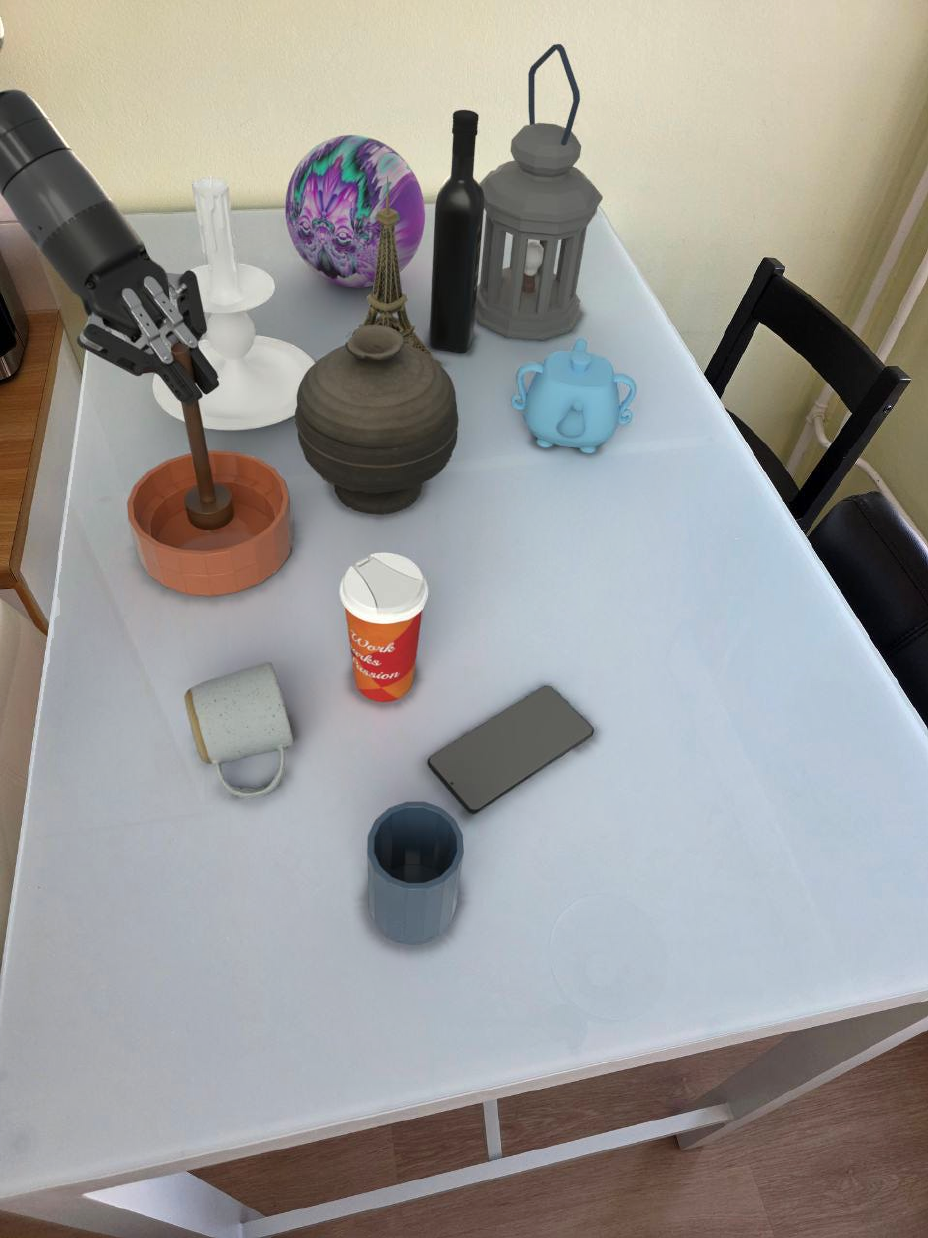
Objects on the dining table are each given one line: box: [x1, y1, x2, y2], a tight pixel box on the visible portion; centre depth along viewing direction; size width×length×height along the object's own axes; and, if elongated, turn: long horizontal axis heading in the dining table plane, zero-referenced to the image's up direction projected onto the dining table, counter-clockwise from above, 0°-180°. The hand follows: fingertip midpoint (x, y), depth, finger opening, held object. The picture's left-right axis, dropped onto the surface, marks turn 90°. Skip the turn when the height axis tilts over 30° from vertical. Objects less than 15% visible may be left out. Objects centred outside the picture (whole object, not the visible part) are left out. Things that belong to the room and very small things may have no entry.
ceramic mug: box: [184, 661, 294, 799], centre depth 79 cm, size 11×8×8 cm
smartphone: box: [427, 685, 595, 815], centre depth 84 cm, size 7×1×15 cm
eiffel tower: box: [358, 176, 443, 366], centre depth 115 cm, size 11×11×25 cm
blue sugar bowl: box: [510, 337, 638, 454], centre depth 112 cm, size 13×14×11 cm
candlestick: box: [152, 173, 316, 431], centre depth 107 cm, size 21×25×28 cm
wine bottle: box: [428, 109, 485, 354], centre depth 118 cm, size 6×6×30 cm
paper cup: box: [338, 552, 429, 703], centre depth 83 cm, size 8×8×14 cm
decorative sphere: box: [284, 134, 426, 289], centre depth 131 cm, size 20×20×20 cm
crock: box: [366, 801, 465, 946], centre depth 70 cm, size 7×7×10 cm
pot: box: [294, 325, 459, 516], centre depth 100 cm, size 18×18×20 cm
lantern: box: [475, 43, 604, 341], centre depth 123 cm, size 17×17×35 cm
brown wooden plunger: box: [169, 343, 234, 530], centre depth 88 cm, size 5×5×20 cm
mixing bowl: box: [126, 449, 294, 597], centre depth 97 cm, size 16×16×6 cm
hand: (204, 394), depth 83 cm, fingers closed on brown wooden plunger
